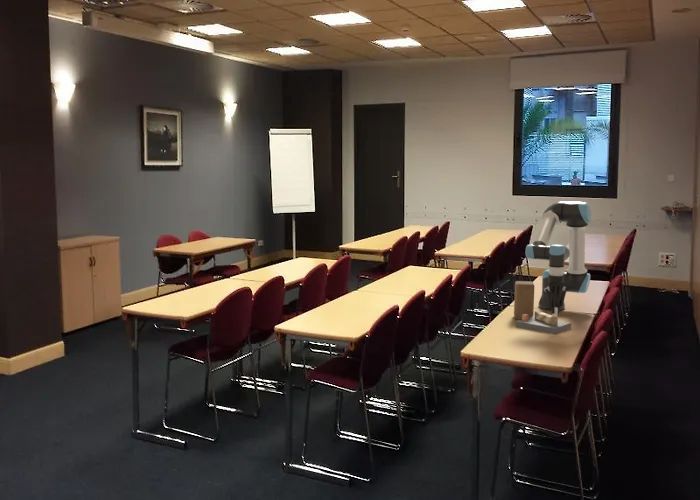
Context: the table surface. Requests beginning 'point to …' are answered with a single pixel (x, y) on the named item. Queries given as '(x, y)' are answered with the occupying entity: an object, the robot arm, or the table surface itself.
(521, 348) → the table surface
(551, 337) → the table surface
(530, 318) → the stool seat
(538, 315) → the folding leg
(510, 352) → the table surface
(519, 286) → the wooden block
